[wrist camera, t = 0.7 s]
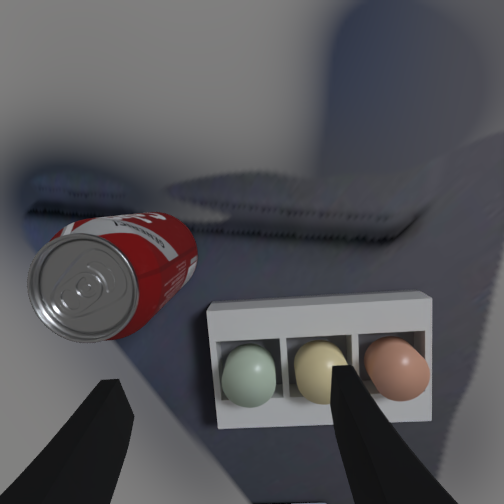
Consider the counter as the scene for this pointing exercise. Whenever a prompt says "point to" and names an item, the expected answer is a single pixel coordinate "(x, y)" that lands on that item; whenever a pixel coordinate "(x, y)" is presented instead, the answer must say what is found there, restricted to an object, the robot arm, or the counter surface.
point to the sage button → (249, 375)
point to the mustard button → (317, 369)
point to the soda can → (110, 274)
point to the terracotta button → (396, 368)
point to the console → (317, 328)
